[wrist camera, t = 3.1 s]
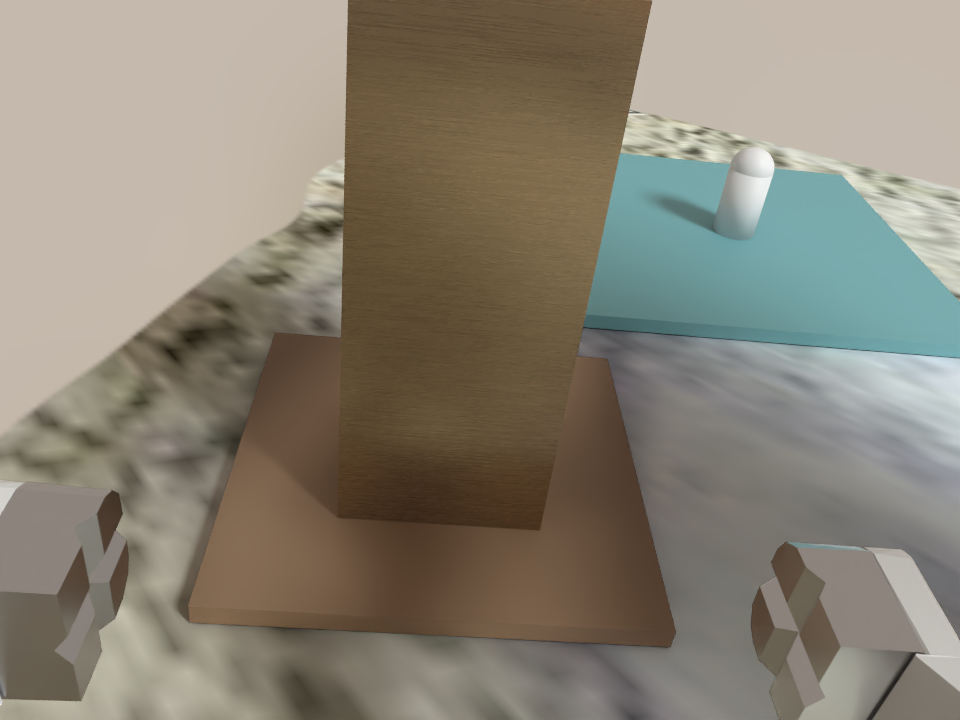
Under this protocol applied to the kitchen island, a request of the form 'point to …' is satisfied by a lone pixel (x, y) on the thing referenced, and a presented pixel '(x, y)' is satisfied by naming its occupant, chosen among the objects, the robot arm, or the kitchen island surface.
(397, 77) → the bronze sleeve
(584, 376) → the walnut stand
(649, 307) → the teal hub plate
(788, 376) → the kitchen island surface
